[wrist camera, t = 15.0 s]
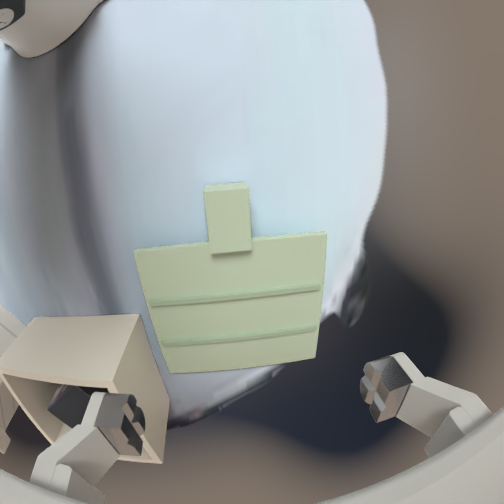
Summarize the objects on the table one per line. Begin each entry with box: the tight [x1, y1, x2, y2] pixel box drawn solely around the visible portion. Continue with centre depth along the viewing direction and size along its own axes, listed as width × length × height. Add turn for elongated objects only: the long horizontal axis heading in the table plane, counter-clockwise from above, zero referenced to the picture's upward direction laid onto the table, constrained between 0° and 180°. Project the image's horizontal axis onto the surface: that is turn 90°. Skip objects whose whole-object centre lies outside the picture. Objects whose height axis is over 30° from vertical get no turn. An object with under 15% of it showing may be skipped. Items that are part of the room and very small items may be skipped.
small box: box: [47, 384, 109, 429], centre depth 29 cm, size 11×6×10 cm, turn 131°
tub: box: [0, 314, 170, 464], centre depth 28 cm, size 16×18×12 cm
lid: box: [133, 182, 327, 373], centre depth 31 cm, size 24×20×4 cm
